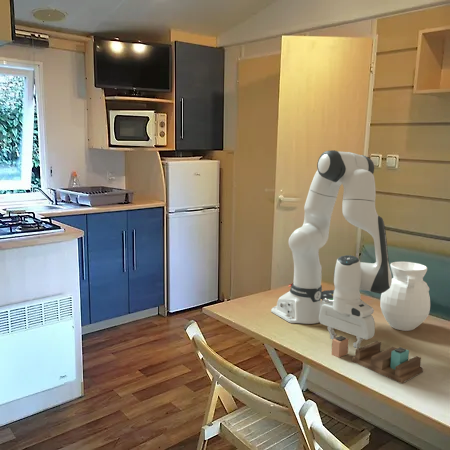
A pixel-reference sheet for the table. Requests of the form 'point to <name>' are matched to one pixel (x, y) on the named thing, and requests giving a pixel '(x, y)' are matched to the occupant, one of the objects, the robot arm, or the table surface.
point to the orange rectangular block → (340, 346)
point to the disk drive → (327, 294)
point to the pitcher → (406, 296)
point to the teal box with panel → (398, 357)
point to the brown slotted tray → (386, 362)
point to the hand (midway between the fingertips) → (344, 343)
